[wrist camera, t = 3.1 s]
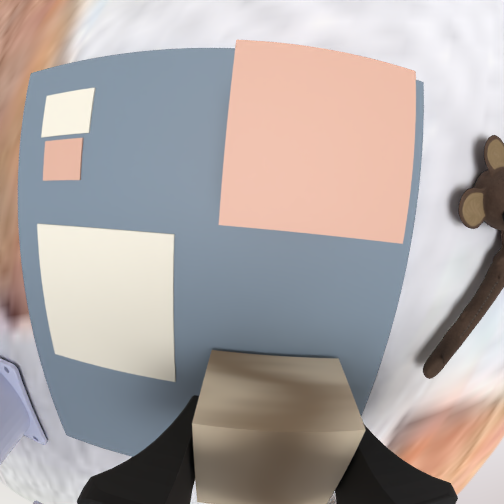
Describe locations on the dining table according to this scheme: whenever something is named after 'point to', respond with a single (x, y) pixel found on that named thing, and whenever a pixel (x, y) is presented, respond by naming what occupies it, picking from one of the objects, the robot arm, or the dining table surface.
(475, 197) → the bear figurine
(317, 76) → the terracotta block
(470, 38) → the dining table surface
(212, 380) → the maple block
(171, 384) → the board
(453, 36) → the dining table surface
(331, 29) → the dining table surface
